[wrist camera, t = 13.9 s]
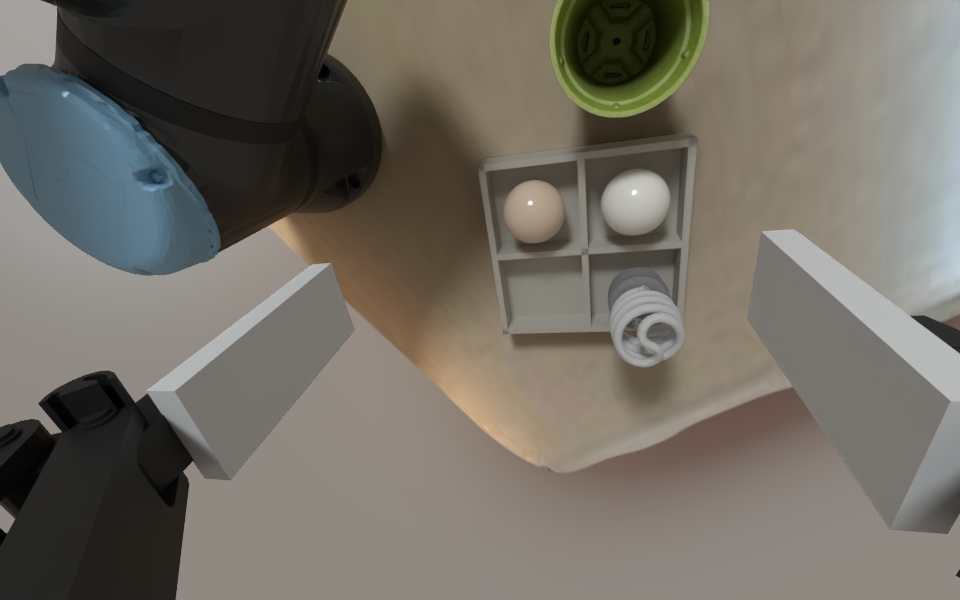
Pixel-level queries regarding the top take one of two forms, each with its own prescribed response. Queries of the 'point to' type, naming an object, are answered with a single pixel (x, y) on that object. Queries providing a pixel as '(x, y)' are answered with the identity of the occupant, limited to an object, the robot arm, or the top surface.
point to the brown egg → (534, 211)
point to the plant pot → (625, 51)
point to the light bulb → (644, 318)
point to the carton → (585, 233)
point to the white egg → (635, 202)
